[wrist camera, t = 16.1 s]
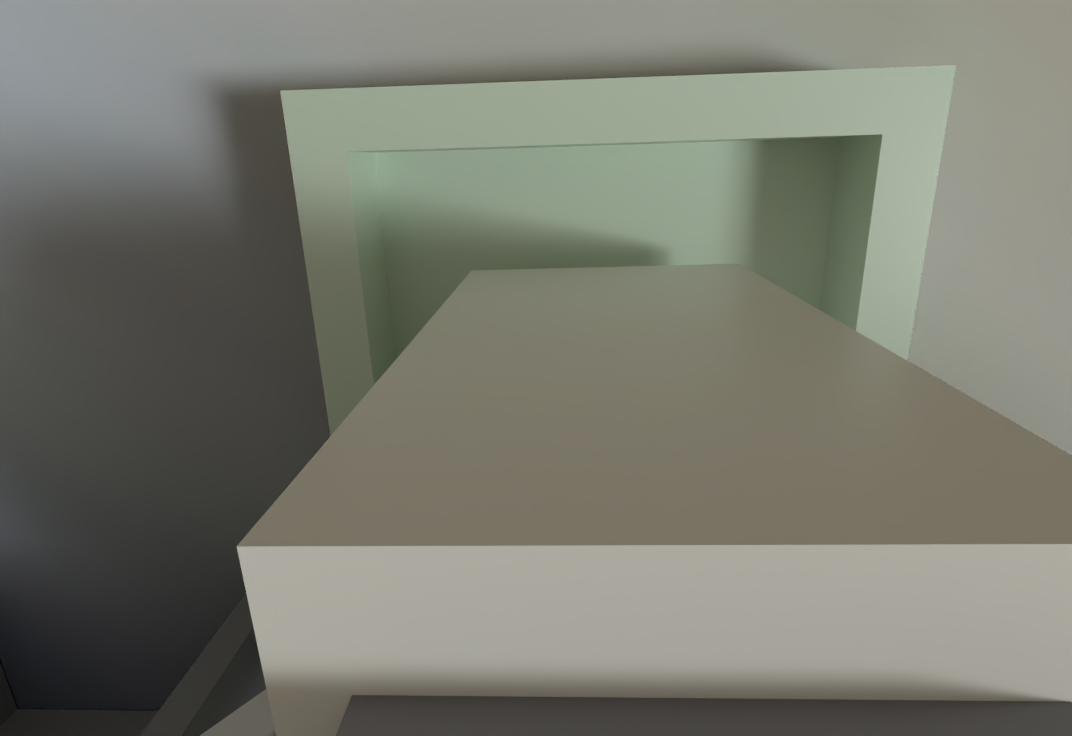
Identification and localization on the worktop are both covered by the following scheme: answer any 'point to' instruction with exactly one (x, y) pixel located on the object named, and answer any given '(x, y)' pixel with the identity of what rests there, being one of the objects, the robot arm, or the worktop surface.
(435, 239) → the tray
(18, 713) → the open-top grey box
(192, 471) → the worktop surface
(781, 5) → the worktop surface
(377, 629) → the cream box grey panel
